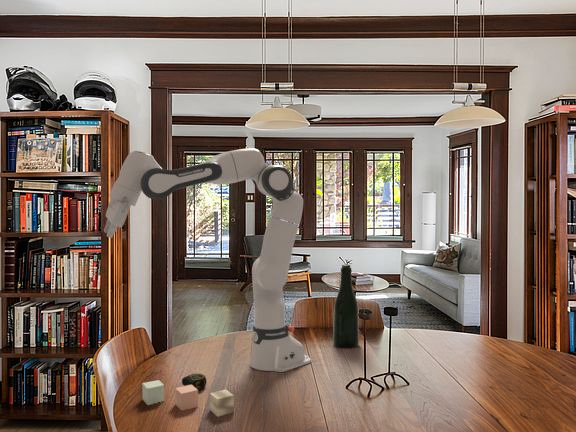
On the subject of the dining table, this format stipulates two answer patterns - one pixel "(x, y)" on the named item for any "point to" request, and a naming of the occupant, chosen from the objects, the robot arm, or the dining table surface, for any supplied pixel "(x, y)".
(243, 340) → the dining table surface
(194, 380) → the tape measure
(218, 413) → the birch block
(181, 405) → the peach block
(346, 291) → the beer bottle
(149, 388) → the sage block
